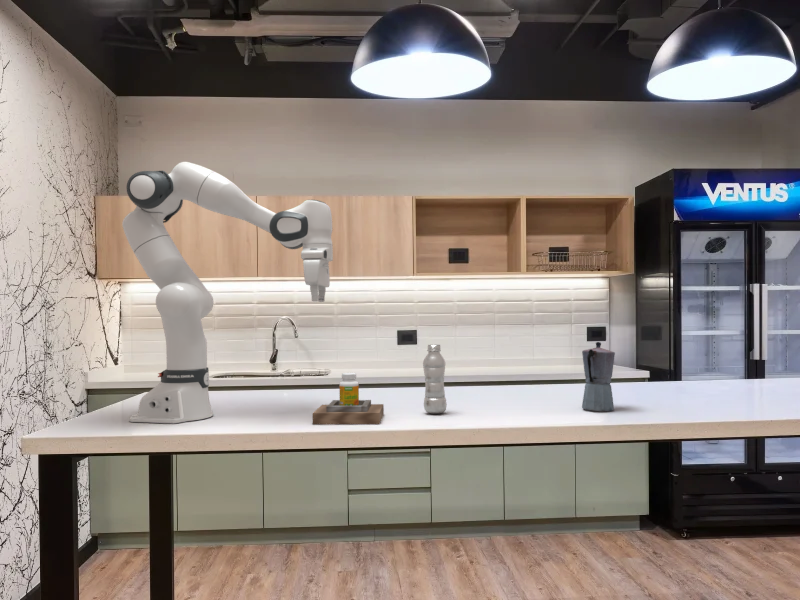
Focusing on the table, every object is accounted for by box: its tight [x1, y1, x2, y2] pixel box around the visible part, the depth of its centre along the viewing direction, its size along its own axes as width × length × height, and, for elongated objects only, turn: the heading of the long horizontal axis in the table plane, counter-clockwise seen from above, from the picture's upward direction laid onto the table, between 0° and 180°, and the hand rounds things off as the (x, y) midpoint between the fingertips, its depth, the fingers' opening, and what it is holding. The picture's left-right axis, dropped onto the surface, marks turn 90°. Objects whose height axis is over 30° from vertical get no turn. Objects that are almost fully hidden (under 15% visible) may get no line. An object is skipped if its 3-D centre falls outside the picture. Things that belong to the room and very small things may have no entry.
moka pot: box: [581, 341, 616, 412], centre depth 167 cm, size 10×15×20 cm, turn 147°
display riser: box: [312, 399, 385, 425], centre depth 158 cm, size 18×14×4 cm
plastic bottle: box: [422, 344, 448, 415], centre depth 165 cm, size 6×7×20 cm
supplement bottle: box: [339, 372, 360, 406], centre depth 159 cm, size 5×5×10 cm
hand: (318, 301), depth 167 cm, fingers open, 8 cm apart
